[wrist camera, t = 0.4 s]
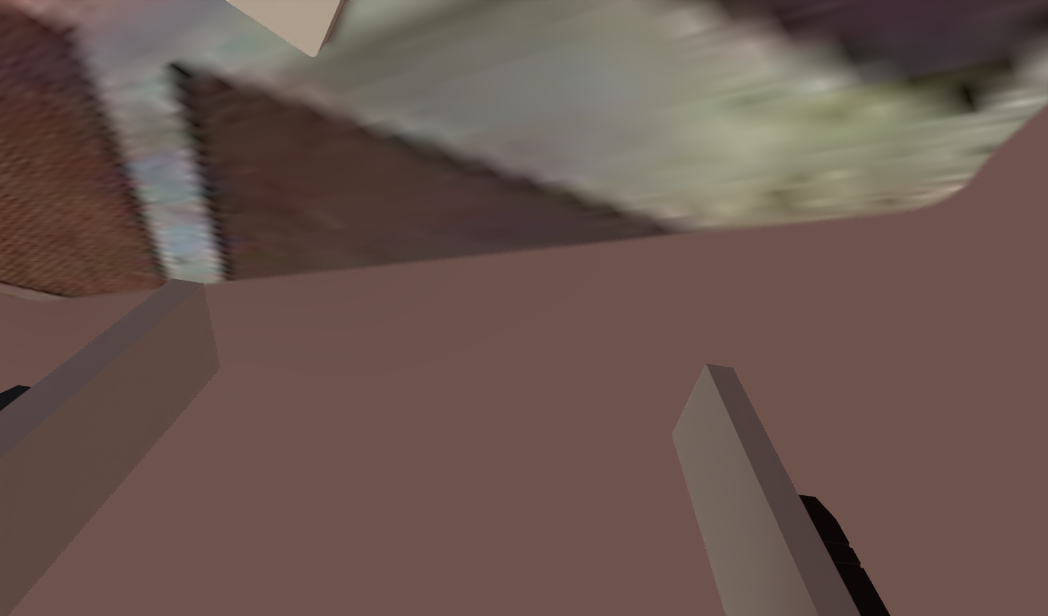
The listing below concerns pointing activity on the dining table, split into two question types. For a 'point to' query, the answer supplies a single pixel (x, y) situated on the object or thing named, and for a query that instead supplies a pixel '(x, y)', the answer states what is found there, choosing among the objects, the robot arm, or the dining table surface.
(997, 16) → the dining table surface
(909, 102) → the dining table surface
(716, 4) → the dining table surface
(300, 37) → the holder
